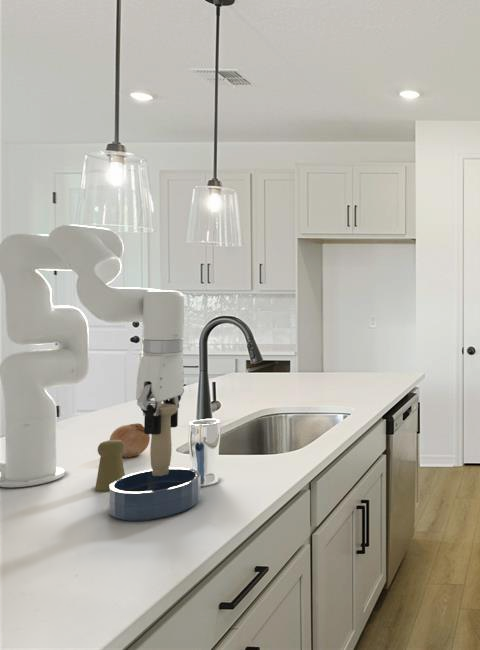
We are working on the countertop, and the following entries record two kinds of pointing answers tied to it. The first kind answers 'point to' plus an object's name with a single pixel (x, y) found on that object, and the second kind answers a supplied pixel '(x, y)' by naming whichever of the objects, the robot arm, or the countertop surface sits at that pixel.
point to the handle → (162, 442)
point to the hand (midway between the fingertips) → (161, 429)
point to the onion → (131, 439)
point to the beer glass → (205, 449)
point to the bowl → (154, 494)
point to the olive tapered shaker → (109, 464)
